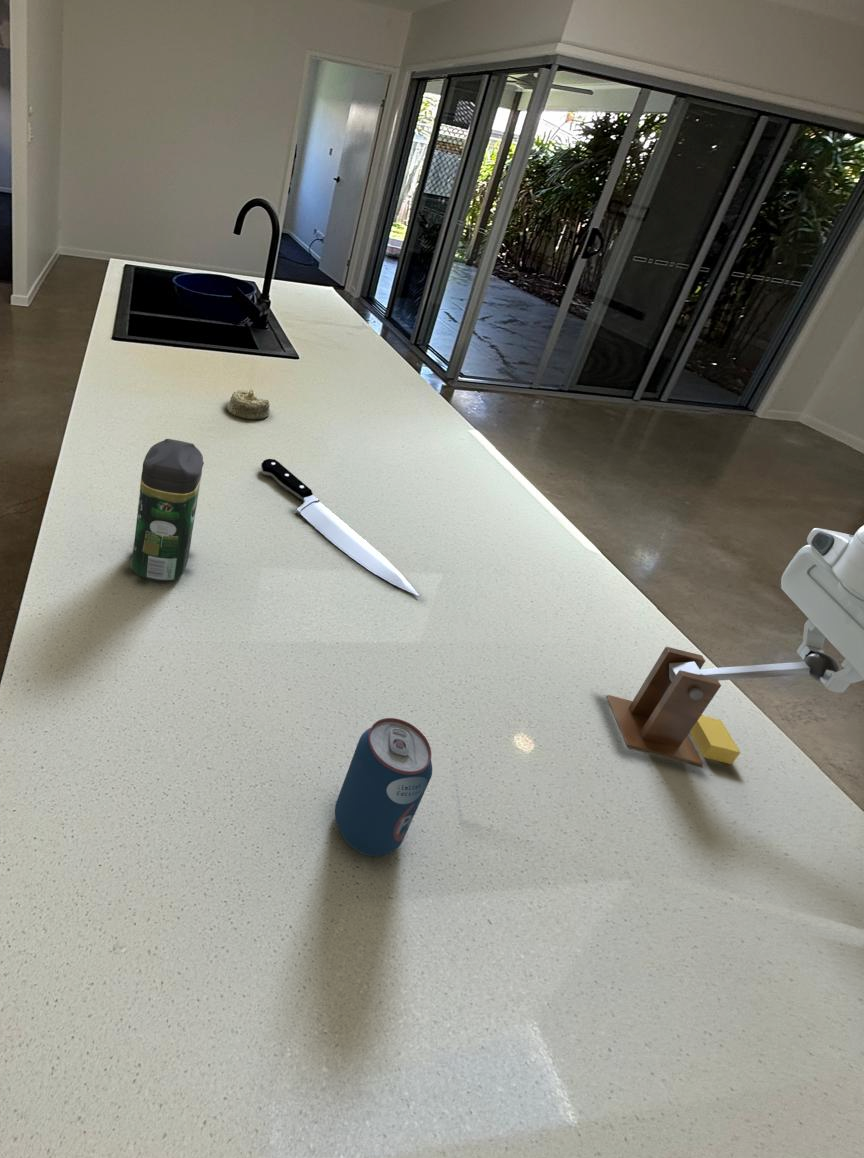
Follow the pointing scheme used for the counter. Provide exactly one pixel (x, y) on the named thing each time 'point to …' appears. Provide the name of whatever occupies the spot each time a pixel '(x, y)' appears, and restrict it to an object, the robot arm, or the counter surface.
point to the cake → (248, 405)
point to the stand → (666, 708)
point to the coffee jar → (166, 510)
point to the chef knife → (335, 527)
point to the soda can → (383, 786)
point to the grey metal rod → (762, 669)
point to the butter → (714, 740)
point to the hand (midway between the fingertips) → (817, 672)
